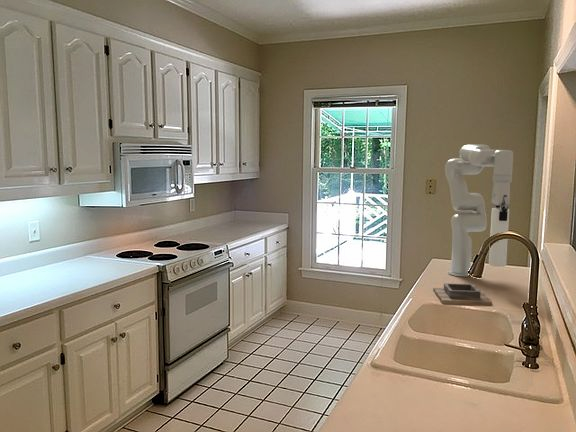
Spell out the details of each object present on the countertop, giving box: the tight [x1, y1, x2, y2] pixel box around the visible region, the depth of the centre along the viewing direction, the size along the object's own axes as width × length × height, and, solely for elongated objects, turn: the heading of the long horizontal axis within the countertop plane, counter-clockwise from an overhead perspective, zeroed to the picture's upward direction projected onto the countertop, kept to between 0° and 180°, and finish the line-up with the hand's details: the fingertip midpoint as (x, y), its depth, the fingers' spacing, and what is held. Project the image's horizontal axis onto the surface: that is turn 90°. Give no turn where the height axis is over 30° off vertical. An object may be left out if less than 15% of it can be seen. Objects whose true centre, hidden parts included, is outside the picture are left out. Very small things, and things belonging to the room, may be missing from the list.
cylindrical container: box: [488, 207, 510, 268], centre depth 218 cm, size 7×7×25 cm
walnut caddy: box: [432, 283, 493, 306], centre depth 214 cm, size 20×20×4 cm
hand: (500, 219), depth 217 cm, fingers closed on cylindrical container, 7 cm apart
